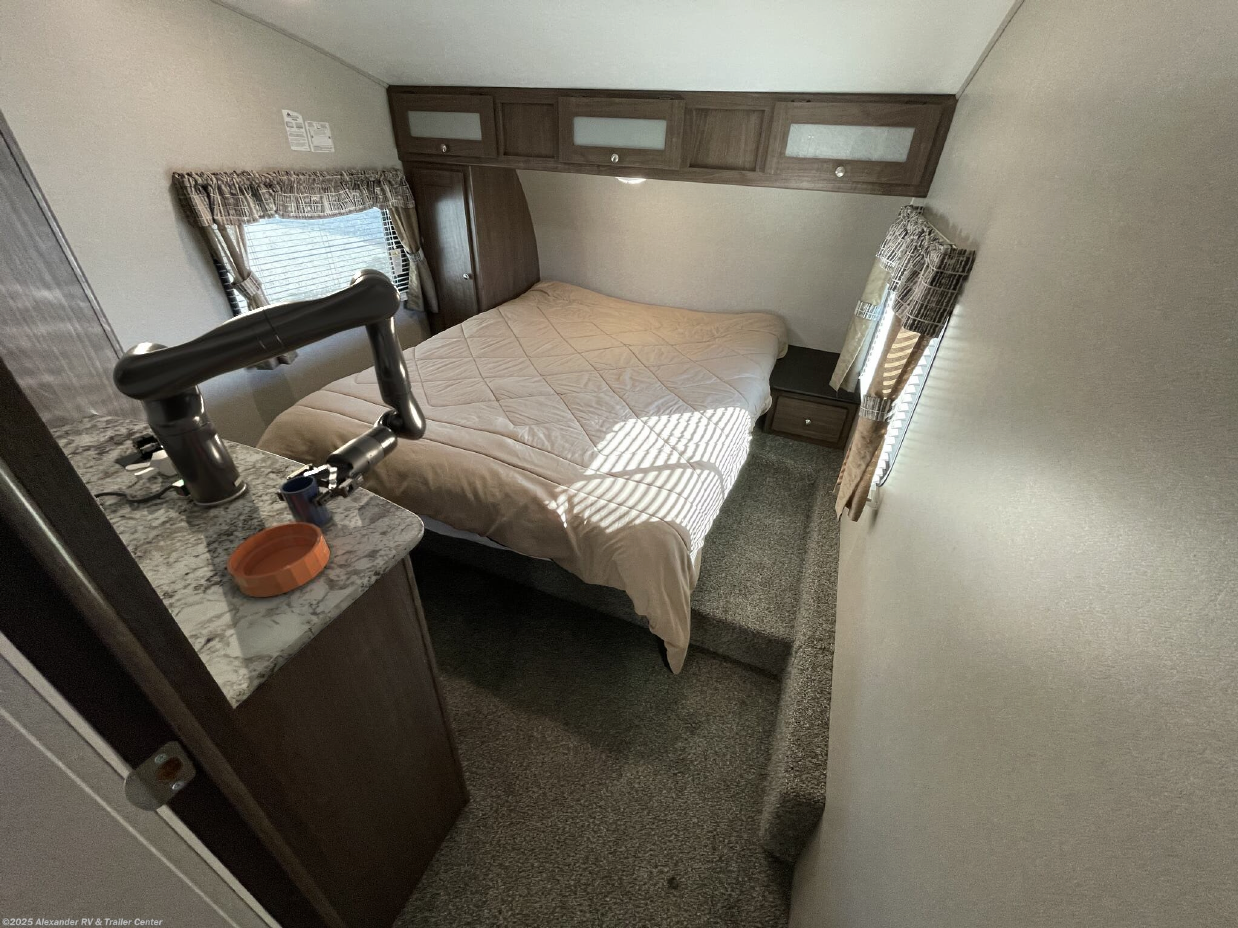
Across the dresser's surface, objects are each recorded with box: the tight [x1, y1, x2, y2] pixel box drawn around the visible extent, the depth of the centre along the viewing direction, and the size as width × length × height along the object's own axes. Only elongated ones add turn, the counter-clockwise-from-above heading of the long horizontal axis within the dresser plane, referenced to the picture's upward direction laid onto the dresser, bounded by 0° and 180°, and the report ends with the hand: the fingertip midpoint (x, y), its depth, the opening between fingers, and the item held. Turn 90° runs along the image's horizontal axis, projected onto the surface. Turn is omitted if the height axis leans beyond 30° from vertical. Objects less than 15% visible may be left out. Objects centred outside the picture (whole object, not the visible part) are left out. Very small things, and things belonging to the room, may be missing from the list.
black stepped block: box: [114, 432, 164, 468], centre depth 122 cm, size 12×7×5 cm, turn 151°
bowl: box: [226, 521, 331, 598], centre depth 86 cm, size 14×14×5 cm
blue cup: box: [279, 476, 331, 528], centre depth 96 cm, size 6×6×9 cm
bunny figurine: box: [125, 450, 178, 481], centre depth 115 cm, size 10×5×15 cm
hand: (297, 501), depth 94 cm, fingers open, 8 cm apart
